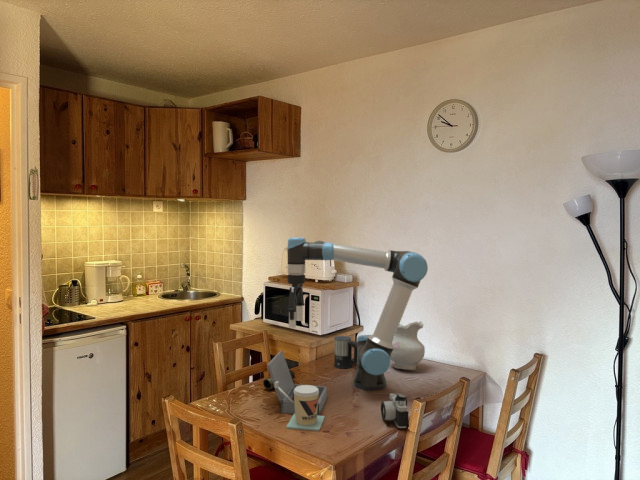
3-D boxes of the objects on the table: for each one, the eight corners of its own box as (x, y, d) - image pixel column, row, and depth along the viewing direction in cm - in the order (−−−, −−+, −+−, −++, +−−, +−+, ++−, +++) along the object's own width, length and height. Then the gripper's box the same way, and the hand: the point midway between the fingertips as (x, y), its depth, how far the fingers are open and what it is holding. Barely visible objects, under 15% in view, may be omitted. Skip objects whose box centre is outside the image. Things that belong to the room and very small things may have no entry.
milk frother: (331, 367, 241) (332, 339, 241) (338, 359, 256) (338, 332, 256) (359, 370, 237) (359, 341, 237) (364, 361, 253) (364, 334, 252)
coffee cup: (299, 428, 168) (300, 395, 167) (289, 418, 176) (289, 386, 176) (323, 423, 172) (323, 390, 172) (311, 414, 181) (312, 383, 180)
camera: (377, 412, 185) (377, 387, 184) (399, 411, 186) (400, 386, 185) (386, 429, 169) (387, 402, 169) (411, 428, 170) (411, 401, 170)
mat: (324, 417, 179) (324, 415, 179) (319, 431, 167) (319, 429, 167) (293, 415, 181) (293, 413, 181) (286, 428, 169) (286, 426, 169)
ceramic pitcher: (377, 369, 238) (377, 320, 237) (387, 359, 256) (387, 314, 255) (420, 375, 230) (421, 324, 229) (427, 364, 248) (428, 317, 247)
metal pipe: (271, 390, 205) (271, 377, 205) (259, 387, 210) (259, 374, 209) (297, 381, 220) (297, 368, 220) (286, 378, 224) (286, 366, 224)
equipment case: (327, 397, 200) (327, 353, 200) (318, 416, 180) (319, 367, 179) (279, 393, 204) (280, 350, 203) (266, 412, 184) (266, 364, 183)
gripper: (294, 270, 213) (294, 317, 213) (280, 277, 188) (279, 330, 189) (310, 271, 211) (310, 318, 212) (298, 277, 187) (298, 330, 188)
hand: (296, 324), depth 200 cm, fingers open, 13 cm apart
